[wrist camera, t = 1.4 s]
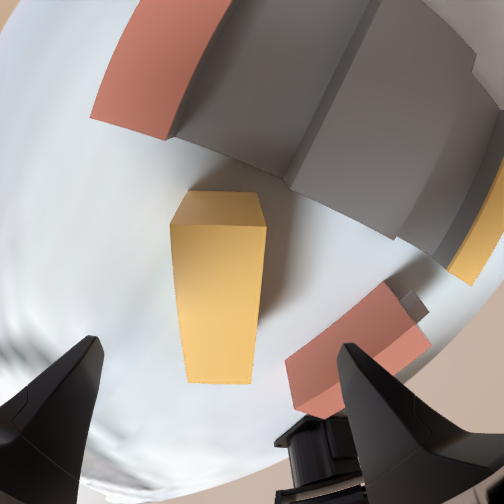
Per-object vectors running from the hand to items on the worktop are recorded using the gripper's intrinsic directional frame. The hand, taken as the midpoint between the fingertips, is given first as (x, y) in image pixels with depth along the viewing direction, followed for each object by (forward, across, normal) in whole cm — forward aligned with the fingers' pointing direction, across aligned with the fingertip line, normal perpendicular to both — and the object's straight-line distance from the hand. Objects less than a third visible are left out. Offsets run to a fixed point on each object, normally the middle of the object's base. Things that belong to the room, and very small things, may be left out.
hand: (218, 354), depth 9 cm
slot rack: (+5, -6, -9) cm, 12 cm away
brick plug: (+5, -8, +4) cm, 10 cm away
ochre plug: (+5, 0, 0) cm, 5 cm away
